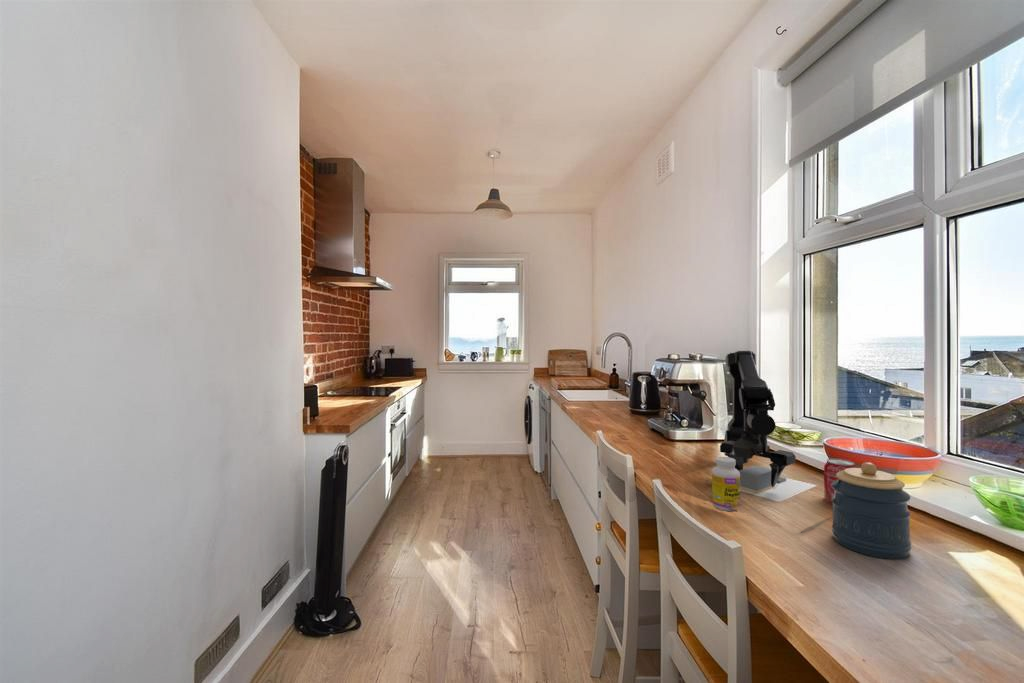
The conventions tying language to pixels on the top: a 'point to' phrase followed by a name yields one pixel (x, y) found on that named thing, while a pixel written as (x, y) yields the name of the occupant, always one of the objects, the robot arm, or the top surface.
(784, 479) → the graphite chip
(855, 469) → the canister
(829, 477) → the soda can
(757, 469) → the block
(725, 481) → the supplement bottle
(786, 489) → the board
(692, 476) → the top surface
